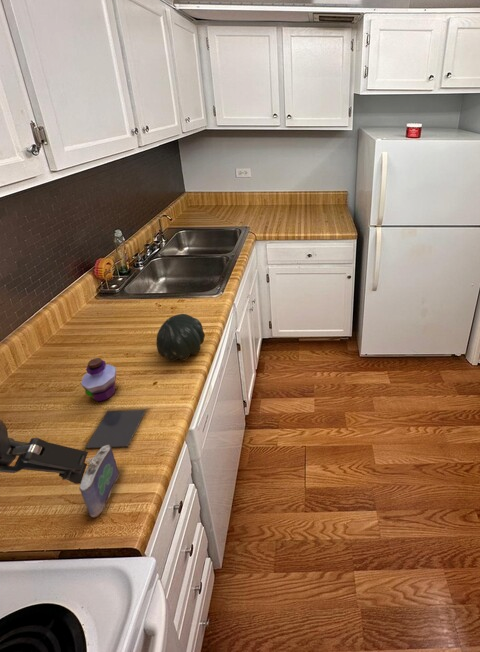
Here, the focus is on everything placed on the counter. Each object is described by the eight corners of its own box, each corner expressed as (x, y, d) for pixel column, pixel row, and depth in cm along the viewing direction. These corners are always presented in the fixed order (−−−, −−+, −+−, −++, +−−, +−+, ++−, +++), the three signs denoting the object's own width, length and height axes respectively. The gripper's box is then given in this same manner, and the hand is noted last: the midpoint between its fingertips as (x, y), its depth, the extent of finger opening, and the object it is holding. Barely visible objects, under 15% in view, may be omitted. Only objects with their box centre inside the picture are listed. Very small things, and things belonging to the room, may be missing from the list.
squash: (213, 319, 117) (178, 296, 110) (211, 349, 104) (171, 326, 97) (185, 344, 119) (149, 324, 112) (180, 378, 105) (139, 357, 99)
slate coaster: (85, 448, 80) (85, 447, 79) (107, 412, 89) (107, 411, 89) (127, 447, 80) (127, 446, 80) (145, 410, 89) (145, 409, 89)
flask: (100, 518, 66) (86, 483, 62) (85, 519, 66) (70, 484, 62) (122, 470, 75) (111, 437, 71) (109, 471, 75) (97, 438, 71)
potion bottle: (79, 406, 90) (67, 373, 86) (99, 381, 98) (89, 349, 94) (110, 407, 90) (99, 374, 86) (128, 382, 98) (119, 350, 94)
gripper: (76, 403, 45) (123, 445, 60) (-136, 416, 42) (-32, 457, 57) (49, 469, 40) (109, 498, 55) (-196, 490, 37) (-64, 515, 51)
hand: (37, 477), depth 56 cm, fingers open, 13 cm apart
